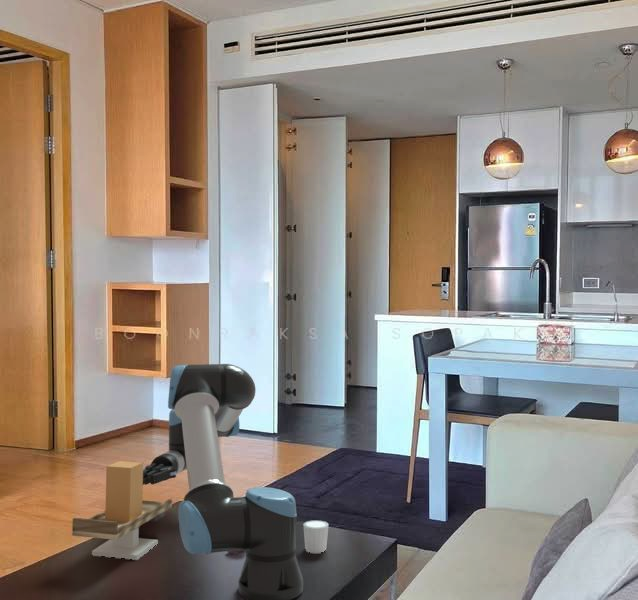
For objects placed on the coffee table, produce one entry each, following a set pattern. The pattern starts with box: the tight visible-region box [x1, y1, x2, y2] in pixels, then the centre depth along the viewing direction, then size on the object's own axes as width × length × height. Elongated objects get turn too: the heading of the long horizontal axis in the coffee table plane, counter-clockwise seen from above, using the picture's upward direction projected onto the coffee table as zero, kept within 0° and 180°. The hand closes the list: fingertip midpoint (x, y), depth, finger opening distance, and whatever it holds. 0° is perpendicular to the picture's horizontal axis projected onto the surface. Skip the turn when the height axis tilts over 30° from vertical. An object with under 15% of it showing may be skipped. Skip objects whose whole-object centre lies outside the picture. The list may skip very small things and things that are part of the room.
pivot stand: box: [91, 527, 159, 561], centre depth 195 cm, size 12×13×6 cm
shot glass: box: [302, 520, 330, 554], centre depth 196 cm, size 7×7×7 cm
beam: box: [71, 498, 173, 540], centre depth 195 cm, size 32×12×7 cm, turn 167°
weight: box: [104, 460, 144, 522], centre depth 193 cm, size 7×7×14 cm
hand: (129, 486), depth 197 cm, fingers closed
